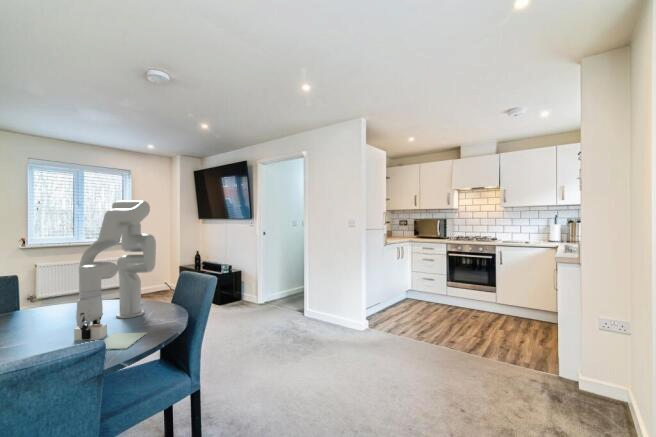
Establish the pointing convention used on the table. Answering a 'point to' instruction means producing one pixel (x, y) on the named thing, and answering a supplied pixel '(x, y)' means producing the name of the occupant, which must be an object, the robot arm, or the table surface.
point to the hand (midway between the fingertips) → (90, 336)
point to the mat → (122, 340)
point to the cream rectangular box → (92, 332)
